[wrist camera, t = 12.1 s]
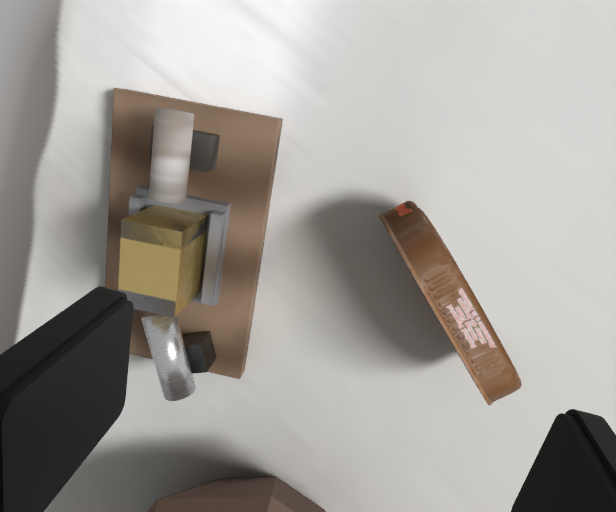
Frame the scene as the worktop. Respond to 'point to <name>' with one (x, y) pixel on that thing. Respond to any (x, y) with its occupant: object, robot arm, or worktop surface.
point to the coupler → (162, 258)
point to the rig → (197, 204)
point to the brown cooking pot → (238, 497)
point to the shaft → (177, 354)
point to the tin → (452, 301)
